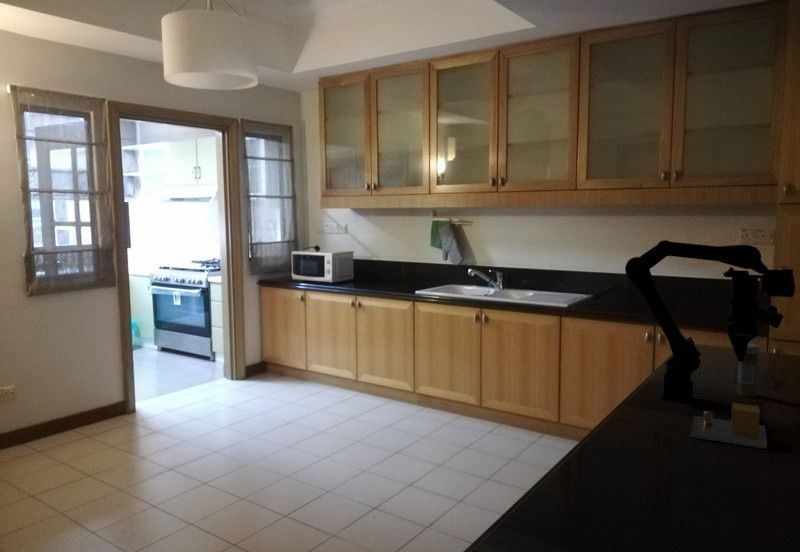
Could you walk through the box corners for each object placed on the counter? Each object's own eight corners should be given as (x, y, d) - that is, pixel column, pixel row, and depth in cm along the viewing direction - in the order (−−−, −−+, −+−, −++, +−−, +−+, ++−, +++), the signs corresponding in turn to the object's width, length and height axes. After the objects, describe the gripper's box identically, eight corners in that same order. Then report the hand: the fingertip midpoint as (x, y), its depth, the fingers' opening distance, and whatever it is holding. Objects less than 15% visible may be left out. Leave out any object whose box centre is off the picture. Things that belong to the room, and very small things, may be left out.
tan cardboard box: (731, 432, 130) (732, 409, 129) (731, 424, 134) (732, 402, 134) (758, 436, 128) (759, 412, 127) (757, 428, 132) (758, 406, 131)
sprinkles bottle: (759, 395, 161) (762, 345, 160) (750, 398, 159) (753, 347, 158) (742, 391, 165) (744, 342, 164) (733, 393, 163) (735, 344, 161)
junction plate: (690, 437, 131) (691, 416, 131) (693, 422, 141) (694, 403, 140) (766, 449, 124) (767, 427, 124) (764, 432, 134) (765, 412, 134)
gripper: (784, 302, 139) (780, 369, 141) (780, 293, 156) (776, 353, 157) (729, 299, 145) (725, 363, 146) (730, 290, 161) (727, 348, 163)
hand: (740, 357), depth 153 cm, fingers open, 9 cm apart
